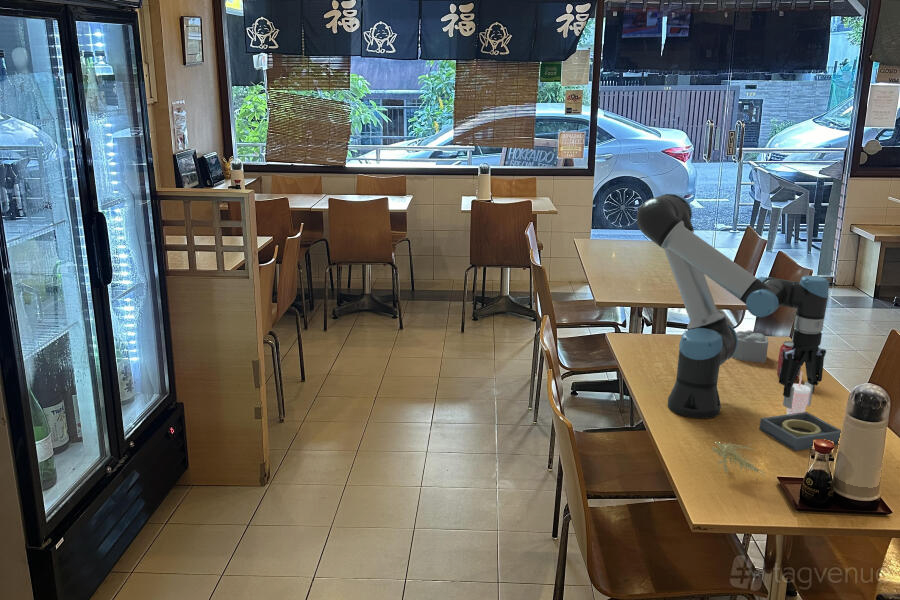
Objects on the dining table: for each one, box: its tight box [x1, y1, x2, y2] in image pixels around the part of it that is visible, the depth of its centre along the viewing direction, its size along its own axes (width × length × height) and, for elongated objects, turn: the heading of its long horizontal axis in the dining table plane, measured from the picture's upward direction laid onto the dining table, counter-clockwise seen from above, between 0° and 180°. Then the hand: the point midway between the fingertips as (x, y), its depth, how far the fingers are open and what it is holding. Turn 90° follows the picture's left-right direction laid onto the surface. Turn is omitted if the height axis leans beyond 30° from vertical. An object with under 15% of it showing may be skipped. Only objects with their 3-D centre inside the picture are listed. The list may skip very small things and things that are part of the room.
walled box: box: [758, 411, 841, 452], centre depth 224 cm, size 16×14×4 cm
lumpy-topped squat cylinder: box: [730, 329, 769, 363], centre depth 288 cm, size 10×13×9 cm
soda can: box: [776, 340, 802, 381], centre depth 267 cm, size 7×7×12 cm
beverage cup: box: [786, 370, 811, 415], centre depth 236 cm, size 6×6×14 cm
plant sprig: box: [711, 434, 766, 481], centre depth 201 cm, size 11×15×9 cm
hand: (796, 405), depth 237 cm, fingers closed on beverage cup, 6 cm apart
